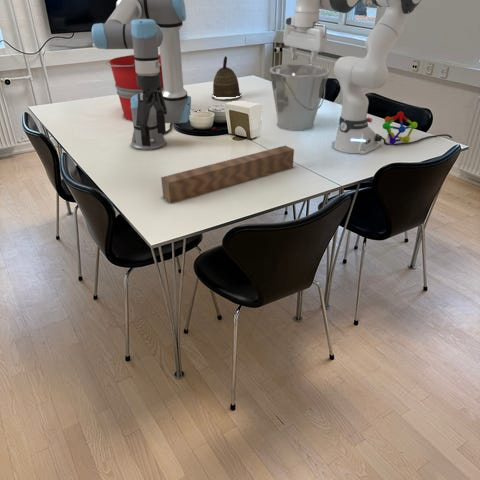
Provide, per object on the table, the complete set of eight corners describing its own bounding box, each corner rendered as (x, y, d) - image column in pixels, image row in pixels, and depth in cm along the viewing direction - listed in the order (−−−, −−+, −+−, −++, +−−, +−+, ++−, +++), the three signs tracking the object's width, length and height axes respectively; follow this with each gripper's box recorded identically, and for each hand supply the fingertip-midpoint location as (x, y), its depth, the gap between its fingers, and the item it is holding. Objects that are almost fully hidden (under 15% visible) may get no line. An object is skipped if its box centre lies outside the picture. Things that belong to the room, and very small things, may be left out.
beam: (170, 203, 157) (168, 182, 152) (163, 197, 160) (161, 177, 156) (292, 167, 185) (294, 149, 181) (284, 163, 189) (285, 145, 184)
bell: (227, 105, 294) (202, 96, 282) (238, 66, 289) (213, 55, 277) (243, 108, 280) (217, 98, 268) (255, 66, 275) (229, 55, 263)
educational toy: (377, 146, 209) (379, 114, 202) (384, 138, 219) (386, 107, 211) (411, 149, 202) (415, 116, 195) (417, 141, 212) (420, 109, 204)
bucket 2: (296, 138, 215) (301, 78, 201) (255, 124, 234) (256, 68, 219) (335, 125, 232) (342, 70, 217) (294, 113, 251) (297, 61, 236)
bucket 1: (123, 106, 262) (116, 51, 247) (182, 106, 262) (178, 52, 246) (106, 123, 233) (97, 63, 217) (172, 124, 232) (168, 64, 216)
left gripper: (143, 82, 129) (150, 152, 140) (173, 67, 150) (177, 129, 161) (119, 80, 130) (128, 150, 141) (152, 66, 151) (158, 127, 162)
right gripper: (333, 23, 154) (328, 65, 161) (294, 18, 168) (291, 57, 175) (320, 24, 151) (315, 67, 158) (281, 19, 165) (279, 58, 172)
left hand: (154, 139), depth 151 cm, fingers open, 13 cm apart
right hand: (302, 61), depth 167 cm, fingers open, 8 cm apart
